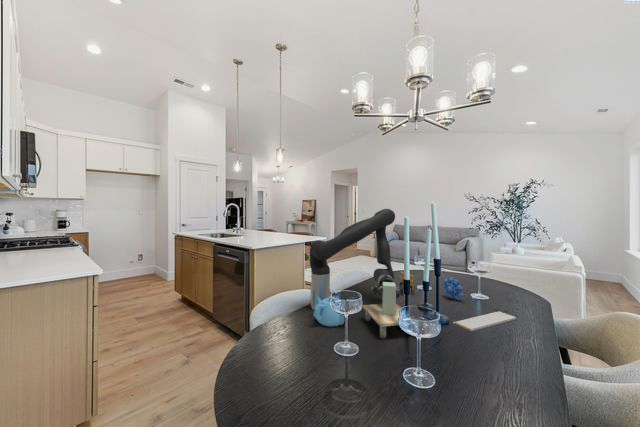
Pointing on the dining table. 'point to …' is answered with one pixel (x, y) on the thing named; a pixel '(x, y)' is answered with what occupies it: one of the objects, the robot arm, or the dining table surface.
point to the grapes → (453, 288)
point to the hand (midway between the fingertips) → (389, 295)
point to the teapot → (327, 313)
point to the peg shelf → (381, 317)
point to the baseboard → (484, 320)
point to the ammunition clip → (410, 282)
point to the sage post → (389, 298)
